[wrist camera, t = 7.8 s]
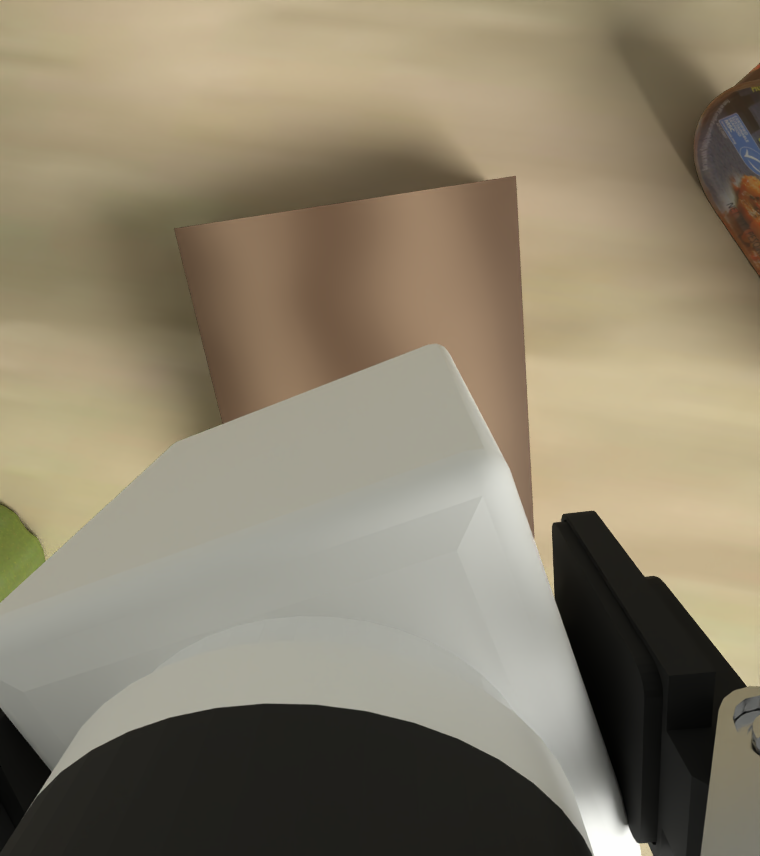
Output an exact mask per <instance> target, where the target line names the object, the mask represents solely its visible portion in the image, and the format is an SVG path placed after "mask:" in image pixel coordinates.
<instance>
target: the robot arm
mask: <svg viewBox="0 0 760 856" xmlns="http://www.w3.org/2000/svg"><path fill="white" fill-rule="evenodd" d="M552 541H553V567H554V593H555V602H556V604H557V607H558V610H559V613H560V616H561V619H562V622H563V625H564V628H565V630H566V633H567V636H568V639H569V642H570V645H571V648H572V651H573V654H574V657H575V659H576V662H577V665H578V668H579V671H580V674H581V677H582V680H583V683H584V685H585V688H586V691H587V694H588V697H589V700H590V703H591V706H592V709H593V712H594V714H595V717H596V720H597V723H598V726H599V729H600V732H601V735H602V738H603V740H604V743H605V746H606V749H607V752H608V755H609V758H610V761H611V764H612V767H613V769H614V772H615V775H616V778H617V781H618V784H619V787H620V790H621V793H622V797H623V801H624V806H625V810H626V815H627V821H628V827H629V829H630V831H631V834H632V836H633V838H634V839H635V841H636V842H637V843H648V844H649V847H650V849H651V851H652V854H653V856H760V686H749V687H747V686H746V685H745V683H744V682H743V681H742V680H741V678H740V677H739V676H738V675H737V673H736V672H735V671H734V670H733V668H732V667H731V666H730V665H729V663H728V662H727V661H726V660H725V658H724V657H723V656H722V655H721V653H720V652H719V651H718V650H717V648H716V647H715V646H714V645H713V643H712V642H711V641H710V640H709V638H708V637H707V636H706V635H705V633H704V632H703V631H702V629H701V628H700V627H699V626H698V624H697V623H696V622H695V621H694V619H693V618H692V617H691V616H690V614H689V613H688V612H687V611H686V609H685V608H684V607H683V606H682V604H681V603H680V602H679V601H678V599H677V598H676V597H675V596H674V594H673V593H672V592H671V591H670V589H669V588H668V587H667V586H666V584H665V583H664V582H663V581H662V580H661V579H660V578H658V577H655V576H649V577H644V576H643V574H642V573H641V572H640V570H639V569H638V568H637V566H636V565H635V564H634V562H633V561H632V560H631V558H630V557H629V556H628V554H627V553H626V552H625V550H624V549H623V548H622V546H621V545H620V544H619V542H618V541H617V540H616V538H615V537H614V536H613V534H612V533H611V532H610V530H609V529H608V528H607V526H606V525H605V524H604V522H603V521H602V520H601V518H600V517H599V516H598V514H597V513H596V512H595V511H586V512H577V513H568V514H563V515H562V519H561V522H556V523H553V525H552ZM51 773H52V772H51V770H50V769H49V768H48V767H47V765H46V764H45V763H44V762H43V760H42V759H41V758H40V757H39V755H38V754H37V753H36V752H35V750H34V749H33V748H32V747H31V745H30V744H29V743H28V742H27V740H26V739H25V738H24V737H23V735H22V734H21V733H20V732H19V731H18V729H17V728H16V727H15V726H14V724H13V723H12V722H11V721H10V719H9V718H8V717H7V716H6V714H5V713H4V712H3V711H2V709H1V708H0V852H1V851H2V849H3V848H4V846H5V845H6V843H7V842H8V840H9V838H10V837H11V835H12V834H13V832H14V831H15V829H16V828H17V826H18V824H19V823H20V821H21V820H22V818H23V817H24V815H25V814H26V812H27V810H28V809H29V807H30V806H31V804H32V803H33V801H34V800H35V798H36V796H37V795H38V793H39V792H40V790H41V789H42V787H43V785H44V784H45V782H46V781H47V779H48V778H49V776H50V775H51Z"/></svg>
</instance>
